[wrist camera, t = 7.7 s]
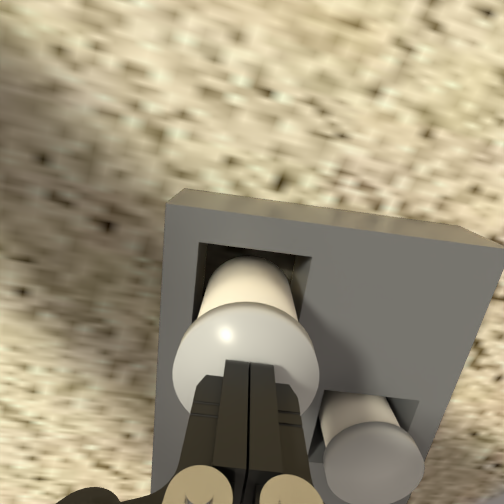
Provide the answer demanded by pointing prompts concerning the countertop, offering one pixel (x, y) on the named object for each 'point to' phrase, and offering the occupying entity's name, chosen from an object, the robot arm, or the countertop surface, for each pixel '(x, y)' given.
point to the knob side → (367, 450)
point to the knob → (247, 331)
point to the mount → (336, 307)
